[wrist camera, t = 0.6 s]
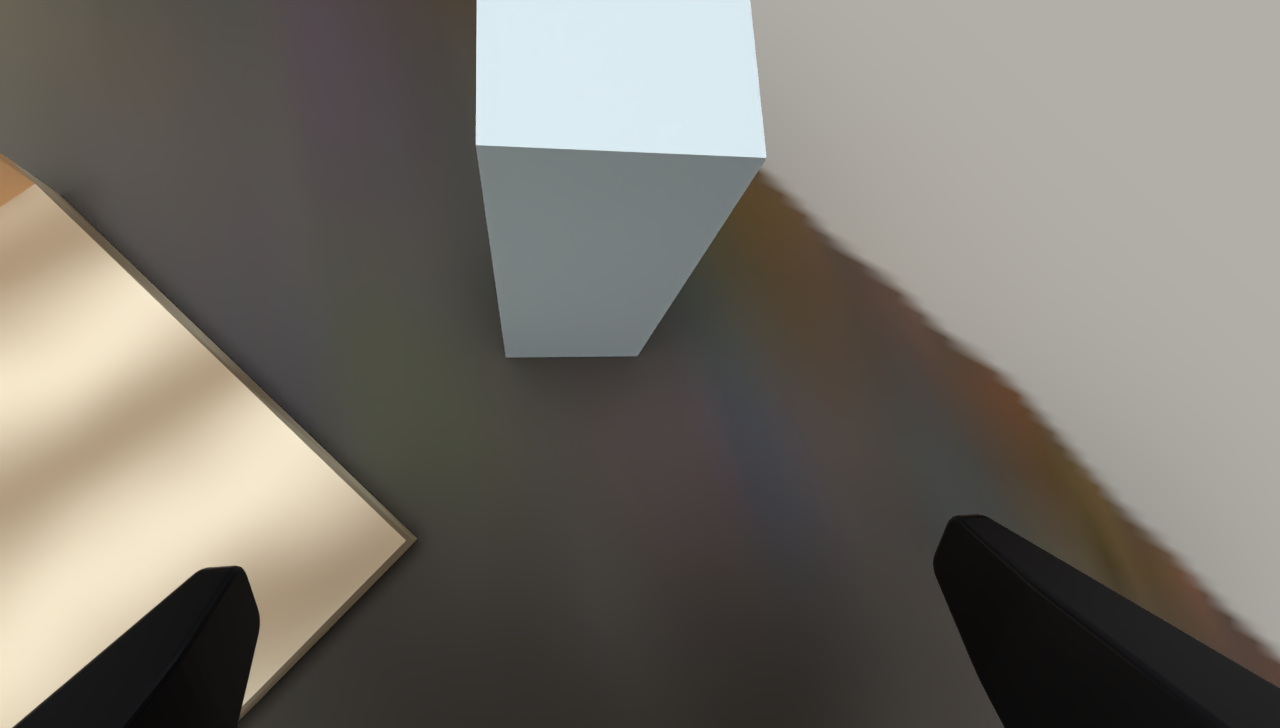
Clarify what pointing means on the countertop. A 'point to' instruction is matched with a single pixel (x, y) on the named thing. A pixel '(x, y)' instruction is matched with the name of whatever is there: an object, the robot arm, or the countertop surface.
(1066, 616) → the robot arm
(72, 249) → the shelf board
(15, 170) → the price rail
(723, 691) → the countertop surface
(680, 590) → the countertop surface
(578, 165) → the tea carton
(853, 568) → the countertop surface
